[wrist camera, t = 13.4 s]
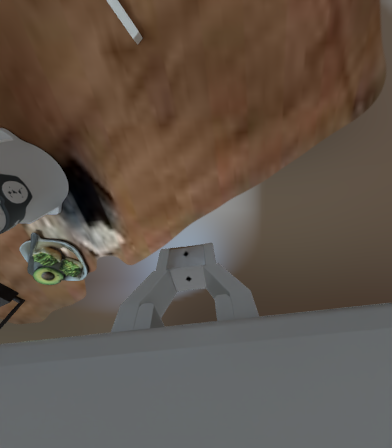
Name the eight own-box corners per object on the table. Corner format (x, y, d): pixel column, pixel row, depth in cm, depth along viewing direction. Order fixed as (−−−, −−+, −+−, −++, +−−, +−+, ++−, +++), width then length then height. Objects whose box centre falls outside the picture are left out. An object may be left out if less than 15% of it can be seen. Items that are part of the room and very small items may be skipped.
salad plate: (6, 227, 45) (-11, 238, 42) (76, 230, 47) (66, 241, 43) (37, 275, 56) (26, 288, 52) (93, 277, 57) (86, 289, 53)
